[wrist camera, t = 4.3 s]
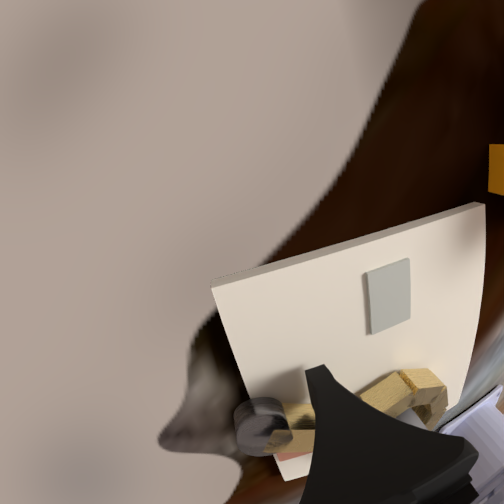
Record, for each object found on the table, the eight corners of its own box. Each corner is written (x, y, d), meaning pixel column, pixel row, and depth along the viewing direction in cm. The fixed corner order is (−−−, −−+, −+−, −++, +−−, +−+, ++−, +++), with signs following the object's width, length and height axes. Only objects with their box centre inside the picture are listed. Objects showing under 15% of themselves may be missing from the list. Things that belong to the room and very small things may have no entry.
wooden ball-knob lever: (447, 366, 12) (464, 382, 11) (400, 438, 14) (411, 454, 12) (250, 361, 10) (257, 389, 9) (221, 449, 11) (224, 474, 10)
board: (452, 397, 15) (480, 427, 12) (282, 471, 14) (295, 518, 11) (474, 201, 11) (531, 215, 7) (211, 279, 10) (210, 335, 7)
